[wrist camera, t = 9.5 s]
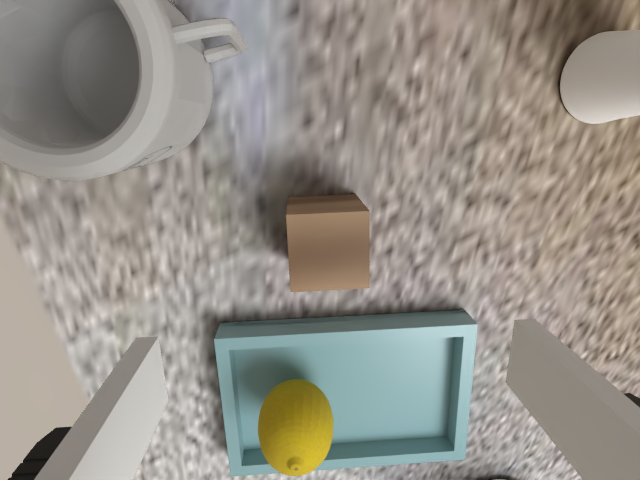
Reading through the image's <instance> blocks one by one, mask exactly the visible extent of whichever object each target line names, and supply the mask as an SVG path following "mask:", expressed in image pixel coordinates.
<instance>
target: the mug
mask: <svg viewBox="0 0 640 480" xmlns="http://www.w3.org/2000/svg"><path fill="white" fill-rule="evenodd" d="M220 35H225V36H226V37H227V38H228V39H229V41H230V42H231V43H228V44H225V45H222V46H218V47H214V48H210V49H205V47H204V45H203V43H202V41H201V39H203V38H208V37H214V36H220ZM246 49H247V43H246V41H245V40H244V38H243V36H242V35H241V33H240V32H239V30H238V28H237V27H236V25H235V24H234V23H233V22H232V21H231V20H229V19H227V18H214V19H207V20H201V21H196V22H191V23H189V22H188V20H187V19H186V18H185V17H184V15H183V14H182V13H181V12H180V11H179V10H178V9H177V8H176V7H175V6H174V5H172V4H171V3H170V2H169V1H168V0H0V162H2V163H4V164H6V165H8V166H10V167H12V168H15V169H17V170H19V171H22V172H25V173H28V174H31V175H34V176H38V177H43V178H47V179H55V180H65V181H75V180H88V179H94V178H99V177H103V176H107V175H110V174H114V173H117V172H121V171H125V170H128V169H132V168H135V167H139V166H143V165H146V164H150V163H154V162H157V161H160V160H163V159H166V158H168V157H170V156H172V155H174V154H176V153H178V152H179V151H181V150H182V149H184V148H185V147H186V146H188V145H189V144H190V143H191V142H192V141H193V140H194V139H195V138H196V136H197V135H198V134H199V133H200V131H201V130H202V128H203V126H204V125H205V123H206V120H207V118H208V116H209V112H210V109H211V106H212V99H213V73H212V68H211V64H210V62H213V61H217V60H221V59H225V58H229V57H232V56H235V55H238V54H241V53H242V52H244V51H245V50H246Z"/></svg>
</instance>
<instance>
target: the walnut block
mask: <svg viewBox="0 0 640 480" xmlns="http://www.w3.org/2000/svg"><path fill="white" fill-rule="evenodd" d="M286 224H287V240H288V257H289V274H290V290H291V292H303V291H322V290H340V289H359V288H369V210H368V209H367V207H366V206H365V205H364V204H363V203H362V201H361V200H360V199H359V198H358V196H357V195H356V194H340V195H317V196H294V197H288V202H287V210H286Z"/></svg>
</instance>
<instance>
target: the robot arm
mask: <svg viewBox="0 0 640 480" xmlns="http://www.w3.org/2000/svg"><path fill="white" fill-rule="evenodd" d="M506 383H507V385H508V386H509V387H510V388H511V390H512V391H513V392H514V393H515V395H516V396H517V397H518V398H519V400H520V401H521V402H522V403H523V405H524V406H525V407H526V408H527V410H528V411H529V412H530V413H531V415H532V416H533V417H534V418H535V420H536V421H537V422H538V423H539V425H540V426H541V427H542V428H543V430H544V431H545V432H546V433H547V435H548V436H549V437H550V438H551V440H552V441H553V442H554V444H555V445H556V446H557V447H558V449H559V450H560V451H561V452H562V454H563V455H564V456H565V457H566V459H567V460H568V461H569V462H570V464H571V465H572V466H573V467H574V469H575V470H576V471H577V472H578V474H579V475H580V476H581V477H582V479H583V480H640V398H638V397H636V396H634V395H632V394H631V393H626V394H623V393H622V392H621V391H619V390H618V389H617V388H616V387H615V386H613V385H612V384H611V383H610V382H609V381H608V380H606V379H605V378H604V377H603V376H602V375H600V374H599V373H598V372H597V371H596V370H594V369H593V368H592V367H591V366H590V365H588V364H587V363H586V362H585V361H584V360H583V359H581V358H580V357H579V356H578V355H577V354H575V353H574V352H573V351H572V350H571V349H569V348H568V347H567V346H566V345H565V344H563V343H562V342H561V341H560V340H559V339H558V338H556V337H555V336H554V335H553V334H552V333H550V332H549V331H548V330H547V329H546V328H544V327H543V326H542V325H541V324H540V323H538V322H537V321H536V320H535V319H527V320H515V322H514V329H513V335H512V342H511V349H510V356H509V363H508V369H507V376H506ZM167 403H168V395H167V389H166V383H165V377H164V370H163V364H162V358H161V352H160V345H159V339H158V337H142V338H136V339H135V340H134V342H133V343H132V344H131V346H130V347H129V349H128V350H127V351H126V353H125V354H124V355H123V357H122V358H121V360H120V361H119V362H118V364H117V365H116V367H115V368H114V369H113V371H112V372H111V374H110V375H109V376H108V378H107V379H106V380H105V382H104V383H103V385H102V386H101V387H100V389H99V390H98V392H97V393H96V394H95V396H94V397H93V399H92V400H91V401H90V403H89V404H88V405H87V407H86V408H85V410H84V411H83V412H82V414H81V415H80V417H79V418H78V419H77V421H76V422H75V424H74V425H73V426H72V427H61V428H55V429H54V430H53V431H51V432H50V433H49V434H47V435H46V436H45V437H44V438H42V439H41V440H40V441H39V442H37V443H36V445H35V446H34V447H33V449H32V450H31V451H30V452H29V454H28V455H27V456H26V457H25V458H24V460H23V463H21V464H20V465H19V466H18V467H17V469H16V470H15V471H14V472H13V474H12V477H11V478H9V479H8V480H133V479H134V477H135V475H136V472H137V470H138V468H139V466H140V463H141V461H142V459H143V457H144V454H145V452H146V450H147V448H148V445H149V443H150V441H151V439H152V436H153V434H154V432H155V430H156V427H157V425H158V423H159V421H160V419H161V416H162V414H163V412H164V410H165V407H166V405H167Z"/></svg>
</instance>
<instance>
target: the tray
mask: <svg viewBox="0 0 640 480" xmlns="http://www.w3.org/2000/svg"><path fill="white" fill-rule="evenodd" d="M477 325H478V324H477V323H476V322H475V321H474V320H473V319H472V318H471V316H470V315H469V314H468V313H467V312H466V311H465V310H446V311H428V312H409V313H391V314H373V315H354V316H336V317H317V318H299V319H281V320H262V321H244V322H226V323H220V325H219V327H218V330H217V332H216V335H215V338H214V344H215V352H216V360H217V369H218V377H219V385H220V393H221V401H222V410H223V418H224V426H225V434H226V442H227V451H228V459H229V467H230V475H231V476H244V475H258V474H272V473H280V472H279V471H277V470H275V469H274V468H273V467H272V466H271V465H270V464H269V463H268V462H267V460H266V459H265V457H264V455H263V453H262V450H261V447H260V442H259V436H258V420H259V413H260V409H261V407H262V405H263V402H264V400H265V398H266V396H267V395H268V394H269V393H270V391H271V390H272V389H273V388H274V387H276V386H277V385H278V384H280V383H282V382H284V381H287V380H291V379H302V380H306V381H309V382H311V383H313V384H315V385H316V386H317V387H318V388H320V389H321V390H322V391H323V393H324V394H325V396H326V398H327V399H328V401H329V404H330V407H331V411H332V414H333V438H332V443H331V446H330V449H329V452H328V454H327V456H326V458H325V459H324V460H323V462H322V463H321V464H320V465H319V466H318V467H317V468H316V469H315V470H327V469H341V468H355V467H369V466H383V465H397V464H411V463H425V462H438V461H452V460H465V453H466V442H467V431H468V421H469V410H470V400H471V389H472V378H473V368H474V357H475V346H476V336H477ZM313 471H314V470H313Z"/></svg>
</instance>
